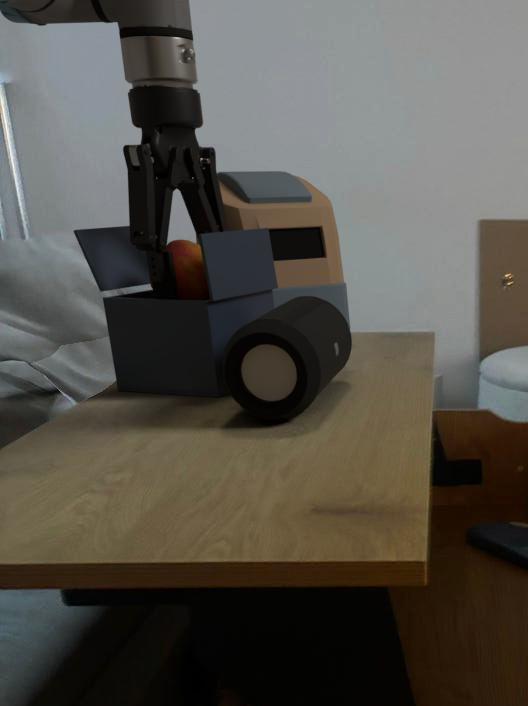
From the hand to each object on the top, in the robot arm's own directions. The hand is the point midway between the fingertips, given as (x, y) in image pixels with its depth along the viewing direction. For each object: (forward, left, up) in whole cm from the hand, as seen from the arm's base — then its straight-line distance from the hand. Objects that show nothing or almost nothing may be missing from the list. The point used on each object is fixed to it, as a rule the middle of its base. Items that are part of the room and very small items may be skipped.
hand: (191, 307), depth 116 cm
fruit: (0, 0, -1) cm, 1 cm away
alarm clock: (-1, +20, -9) cm, 22 cm away
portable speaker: (+16, -6, -9) cm, 20 cm away
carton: (0, 0, -9) cm, 9 cm away
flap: (-8, 0, +6) cm, 10 cm away
